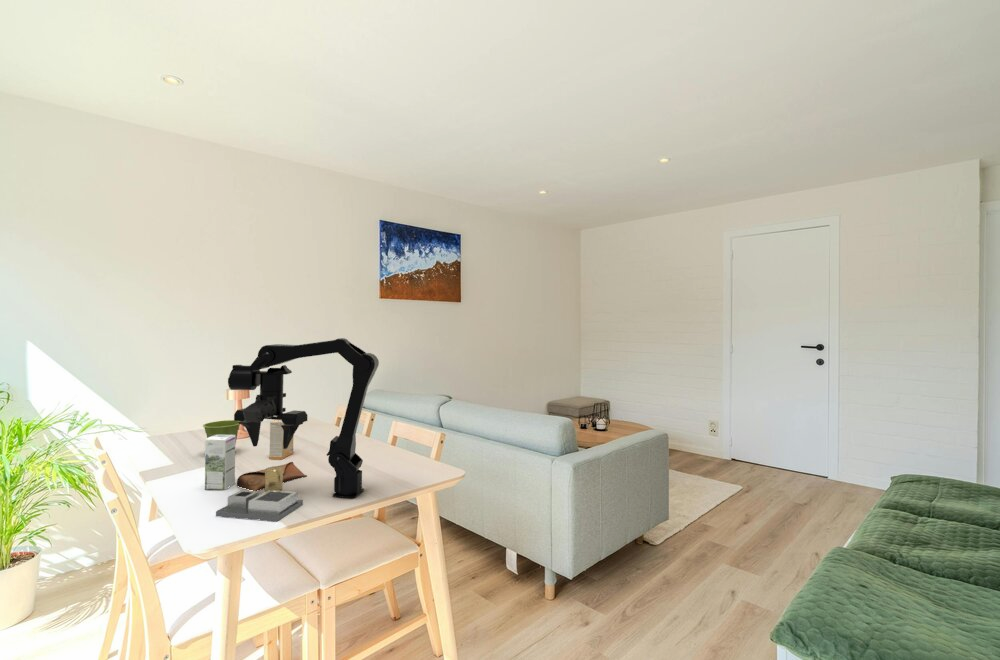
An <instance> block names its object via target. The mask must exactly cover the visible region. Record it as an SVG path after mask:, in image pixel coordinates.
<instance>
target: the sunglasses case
mask: <svg viewBox="0 0 1000 660" xmlns="http://www.w3.org/2000/svg"><path fill="white" fill-rule="evenodd" d="M279 466H281V467H283V482H284V483H287V481H288V482H291V481H295V480H298V478H299V479H301V478H302V477H303V478H306V477H308V475H307V474H304V473H303V472H302V471H301V469H300V468H298V467H297V466H296V465H295V464H294V462H293V461H290V462H288V463H286V464H280V465H279ZM265 469H266V468H264V469H260V470H256V471H249V472H246V473H242V474H241V475H239V476H238V478H237V480H236V486H239V487H242V488H246V489H249V490H253V491H257V490H259V491H261V490H264V489H265ZM294 479H295V480H294ZM239 487H238V488H239ZM242 488H241V489H242ZM263 488H264V489H263ZM246 489H245V490H246ZM260 489H261V490H260ZM249 490H248V491H249Z"/></svg>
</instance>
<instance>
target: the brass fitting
mask: <svg viewBox="0 0 1000 660" xmlns="http://www.w3.org/2000/svg"><path fill="white" fill-rule="evenodd" d="M264 469H265V488H264V493H265V492H267V491H268V490H277V491H284V490H283V487H284V484H283V467H281V466H280V465H275V466H274V465H273V466H269V467H266V468H264Z"/></svg>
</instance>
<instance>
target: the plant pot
mask: <svg viewBox="0 0 1000 660" xmlns="http://www.w3.org/2000/svg"><path fill="white" fill-rule="evenodd" d="M238 422H240V421H234V419H230V420H229V419H228V420H216V421H210V422H206V423H204V424H203V425H202V427H203V428H204V432H205V434H206V439H207V438H209V437H211V436H213V435H235V436H236V441H237V439H238V432H239V430H240V425H241V424H239V423H238ZM236 444H237V442H236V443H235V446H236Z"/></svg>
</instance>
